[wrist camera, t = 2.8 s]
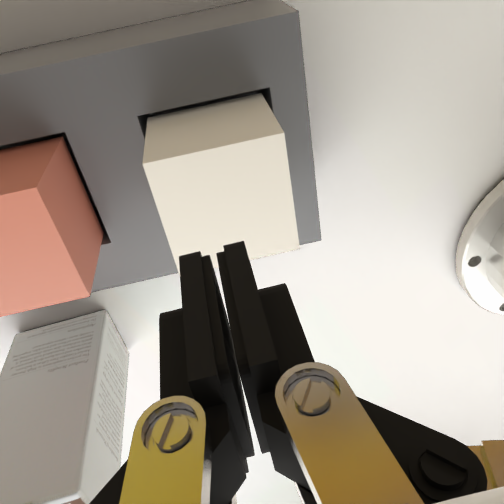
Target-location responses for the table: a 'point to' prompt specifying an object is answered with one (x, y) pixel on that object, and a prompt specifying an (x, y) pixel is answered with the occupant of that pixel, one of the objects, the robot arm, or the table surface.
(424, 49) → the table surface
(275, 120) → the ivory key
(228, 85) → the key housing
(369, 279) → the table surface
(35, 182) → the brick key
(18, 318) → the table surface
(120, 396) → the skincare box
